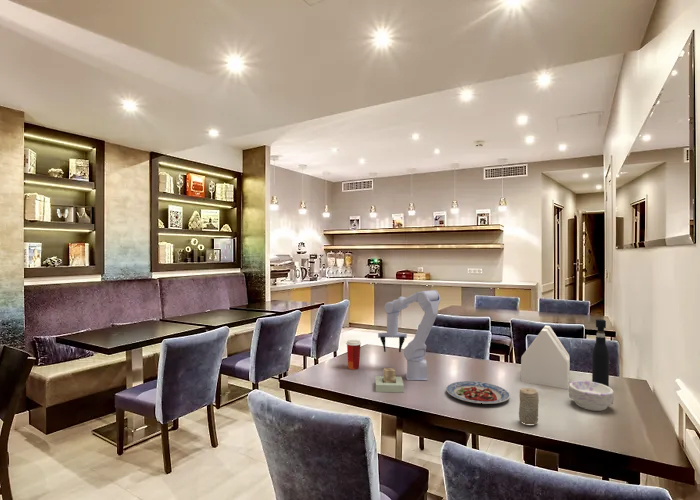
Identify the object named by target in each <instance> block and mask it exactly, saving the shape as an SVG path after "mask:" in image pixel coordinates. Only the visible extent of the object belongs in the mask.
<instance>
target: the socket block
mask: <svg viewBox="0 0 700 500" xmlns="http://www.w3.org/2000/svg"><path fill="white" fill-rule="evenodd" d="M374 379H375V381H374V382H375V392H376V393H404V390H405V389H404V388H405V386H404V380H403V377H402V376H395V383H383V375H375V378H374Z"/></svg>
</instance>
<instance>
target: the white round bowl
mask: <svg viewBox="0 0 700 500" xmlns="http://www.w3.org/2000/svg"><path fill="white" fill-rule="evenodd" d="M614 393H615V392H614V390H613V389H612V387H610V386H609V387H608V386H606V385H603V384H600V383H596V382H592V381H590V380H589V381H588V380H575V381H569V384H568V396H569V398H570V399H571V400H573V401H574V402H575V404H576V405H577V406H578V407H580V408H582V409H584V410H588V411H595V412H601V411H605V410H606V409H608V407H609V406H613V405H614V403H615V401H614V400H615V399H614V398H615V397H614Z"/></svg>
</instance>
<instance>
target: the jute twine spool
mask: <svg viewBox="0 0 700 500" xmlns="http://www.w3.org/2000/svg"><path fill="white" fill-rule="evenodd" d="M539 401H540V400H539V392H538V391H537V390H536V389H535V388H528V387H522V388H520V389H519V404H518V405H519V409H518V410H519V411H518V420H519V422H520V421H521V422H523V423H525V424H535V425H537V424H538V422H539V403H540V402H539ZM521 422H520V423H521Z"/></svg>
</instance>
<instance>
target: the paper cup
mask: <svg viewBox="0 0 700 500" xmlns="http://www.w3.org/2000/svg"><path fill="white" fill-rule="evenodd" d="M345 344H346V348H347V368H348V369H349V370H353V371H354V370H359V369H360V357H361V345H362V343H361V340H360V339H359V340H357V339H349V340H348V339H347V341H346V343H345Z"/></svg>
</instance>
